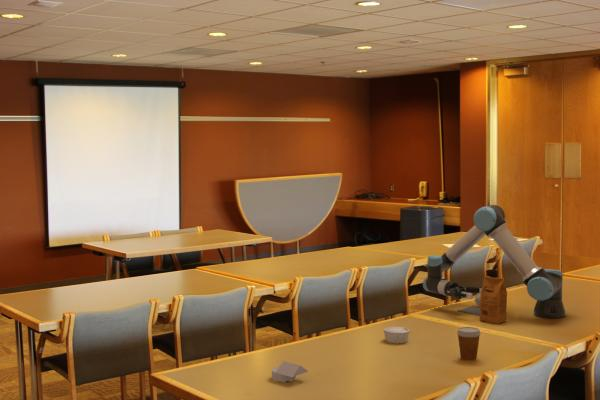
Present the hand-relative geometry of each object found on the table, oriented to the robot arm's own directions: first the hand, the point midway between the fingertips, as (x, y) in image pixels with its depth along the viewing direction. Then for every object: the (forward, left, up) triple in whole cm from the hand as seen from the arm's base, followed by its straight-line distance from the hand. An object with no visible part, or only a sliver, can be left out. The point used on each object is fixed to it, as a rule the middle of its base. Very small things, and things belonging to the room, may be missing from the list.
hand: (481, 294), depth 381 cm
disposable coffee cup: (-37, +60, -12) cm, 72 cm away
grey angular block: (-7, +131, -12) cm, 132 cm away
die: (+15, -23, -12) cm, 30 cm away
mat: (+9, -11, -12) cm, 18 cm away
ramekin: (+1, +61, -12) cm, 62 cm away
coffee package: (-7, 0, -12) cm, 14 cm away
